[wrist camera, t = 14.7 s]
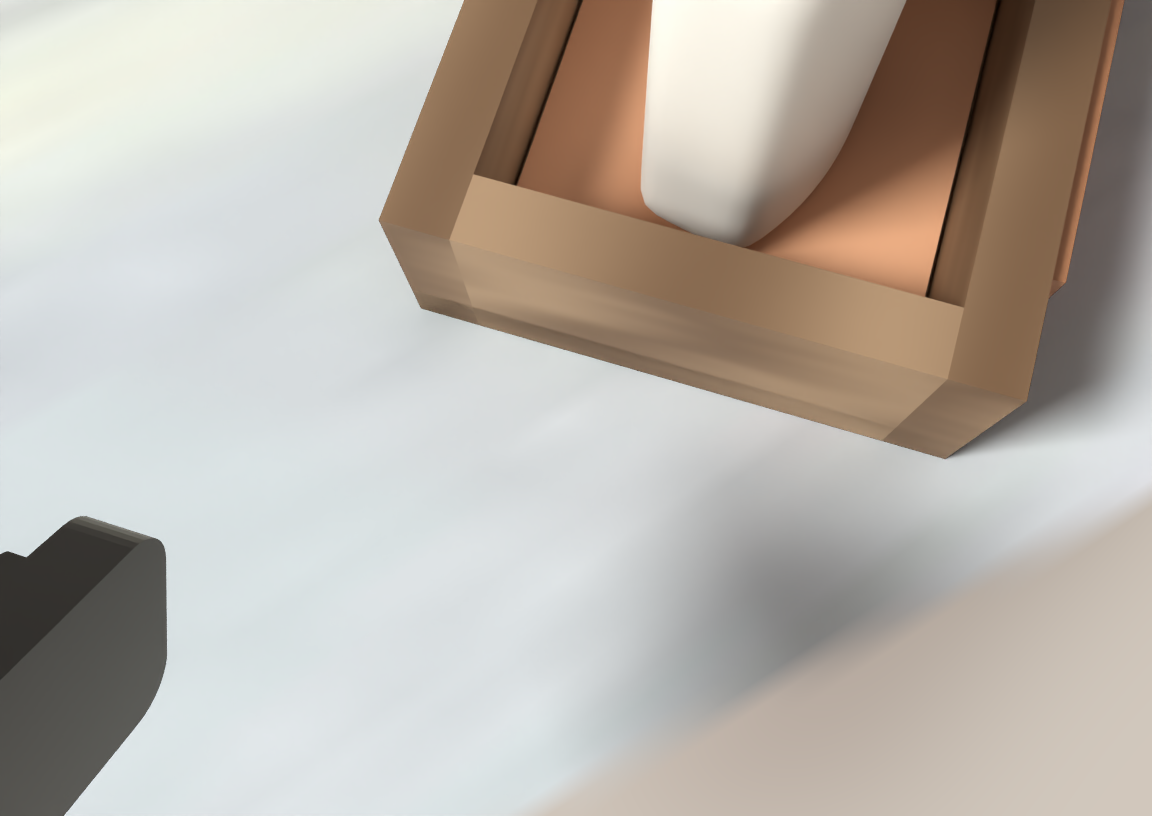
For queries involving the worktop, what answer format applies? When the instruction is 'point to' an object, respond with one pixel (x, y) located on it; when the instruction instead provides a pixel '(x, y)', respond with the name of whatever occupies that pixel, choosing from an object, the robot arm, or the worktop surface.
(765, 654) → the worktop surface
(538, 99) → the walnut rack
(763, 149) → the eye dropper bottle
